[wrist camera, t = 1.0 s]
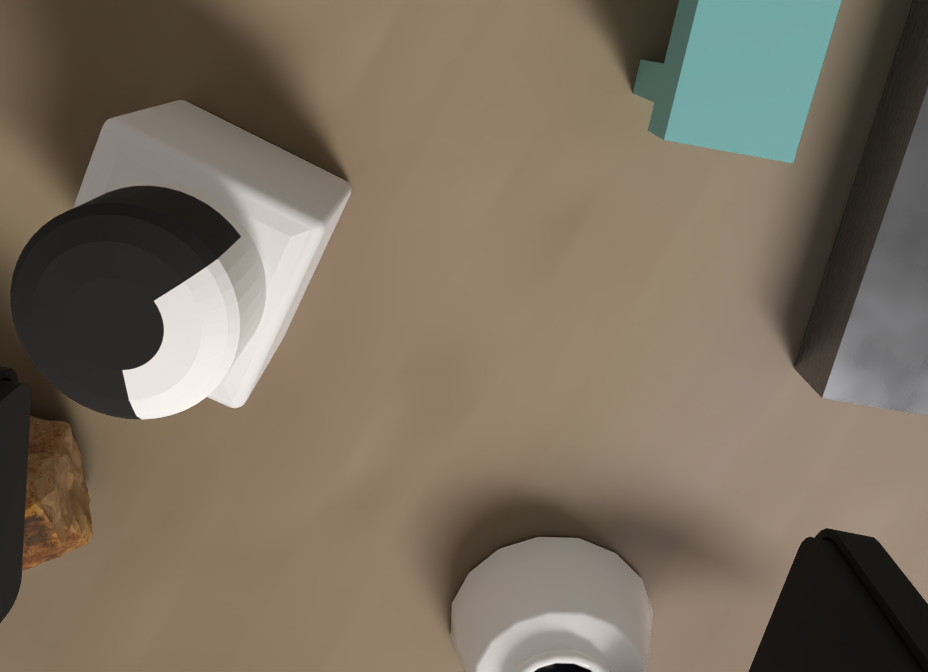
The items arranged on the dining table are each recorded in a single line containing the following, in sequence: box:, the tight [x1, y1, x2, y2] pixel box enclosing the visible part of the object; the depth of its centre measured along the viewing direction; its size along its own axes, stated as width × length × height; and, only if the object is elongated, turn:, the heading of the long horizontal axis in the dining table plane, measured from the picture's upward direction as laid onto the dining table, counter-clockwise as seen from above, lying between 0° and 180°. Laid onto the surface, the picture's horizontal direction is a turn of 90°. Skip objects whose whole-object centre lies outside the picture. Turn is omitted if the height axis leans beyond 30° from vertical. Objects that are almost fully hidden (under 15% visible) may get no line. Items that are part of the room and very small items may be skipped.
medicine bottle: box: [11, 100, 351, 419], centre depth 28 cm, size 7×7×12 cm
